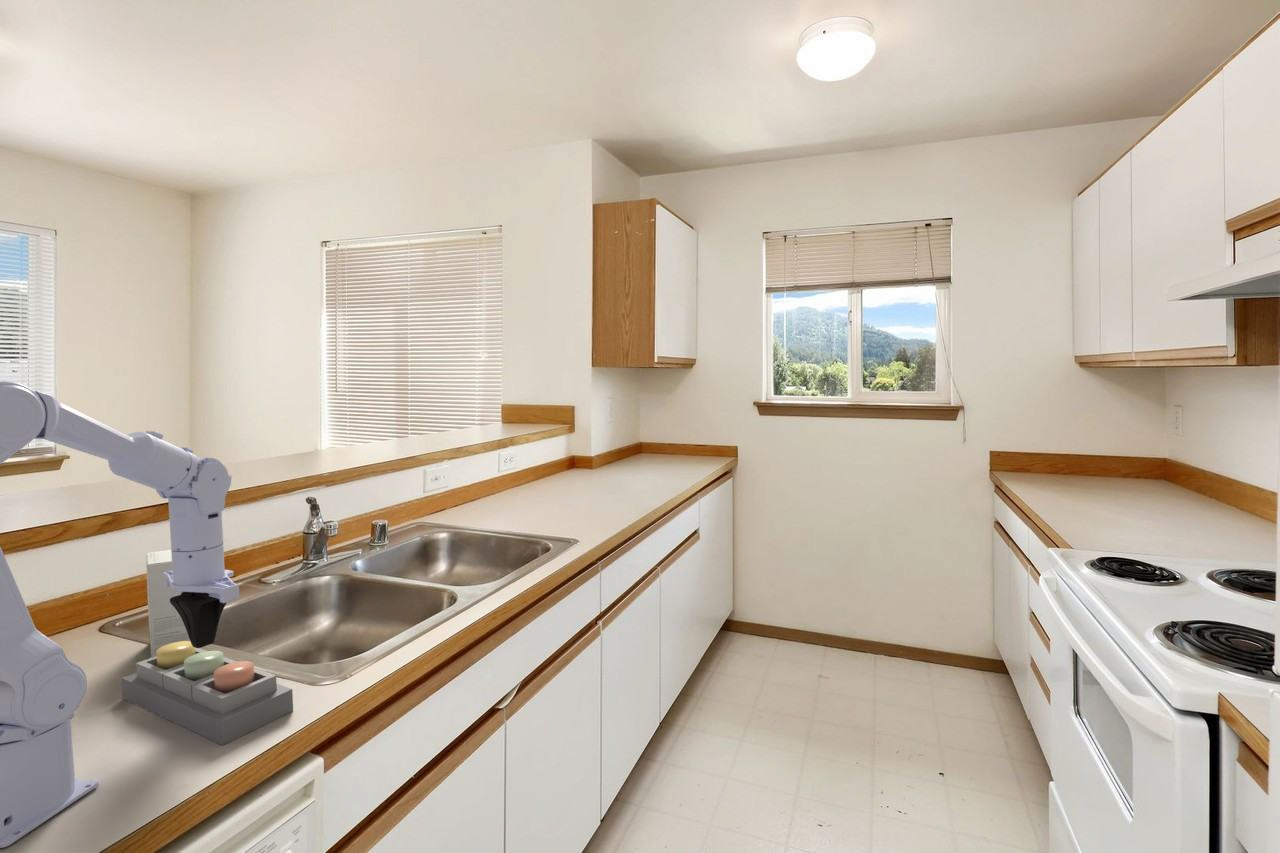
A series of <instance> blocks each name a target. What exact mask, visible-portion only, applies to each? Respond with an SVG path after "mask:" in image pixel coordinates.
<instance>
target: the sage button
mask: <svg viewBox="0 0 1280 853" xmlns="http://www.w3.org/2000/svg"><path fill="white" fill-rule="evenodd" d="M206 651H207V652H202V653H198V654H195V655H192V656H190V657H188V658H187V659H185V661H184V672H185V678H187V679H190V680H197V679H202V678H205V677H207V676H210V675H212V674H214V671H215V670H216V669H218V668H219V667H221V666H224V657H225V656H224V652H223V651H221V650H206Z"/></svg>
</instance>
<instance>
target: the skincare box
mask: <svg viewBox="0 0 1280 853" xmlns="http://www.w3.org/2000/svg"><path fill="white" fill-rule="evenodd" d="M168 571H172V553H171V549H167V550H166V549H165V550H158V551H151V552H147V553H146V587H147V588H146V592H147V610H148V611H147V612H148V614H147V615H148V630H149V631H148V632H149V633H148V634H149V648H150V649H149V650H150V658H153V657H155V656H157V655H156V651H157V650H158V649H159V648H161V647H162V646H165V645H168V644H171V643H175V642H181V641H190V639H189V636H188V633H187V630H186V628H185V625H184V623H183V621H182V619H181V617H180V615H179V613H178V612H177V610H176V609H175V608H174V607H173V606H172V604H171V603H170V598H172V597H175V596H178V595H181V593H183V592H180V591H174V590H173V589H172V588H171V587H165V586H164V585H163V573H164V572H168Z"/></svg>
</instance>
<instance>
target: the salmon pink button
mask: <svg viewBox="0 0 1280 853" xmlns="http://www.w3.org/2000/svg"><path fill="white" fill-rule="evenodd" d="M254 668H255V665H254V662H252V661H247V660H240V661H237V662H234V663H230V664H226V665H224V666H221V667H219V668H218V669H216V670H215V671H214V687H215V690H216V691H219V692H230V691H234V690H236V689H238V688H241V687H243V686H246V685H248V684H250V683H253V682H254V680H255V677H254Z"/></svg>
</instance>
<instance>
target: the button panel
mask: <svg viewBox="0 0 1280 853" xmlns="http://www.w3.org/2000/svg"><path fill="white" fill-rule="evenodd" d="M195 651H196V654H198V653H202V652H207V651H208V650H205V649H202V648H195ZM234 662H238V660H237V661H236V660H233V659H231V658H229V657H225V656H224V665H226V664H230V663H234ZM135 667H136V668H135V669H136V672H134V673H132V674H128V675H126V676H123V677H121V688H122V700H124V701H127V702H129V703H132V704H134V705H135V706H136V707H137V706H138V707H140V708H142V709H144V710H146V711H148V712H151V713H153V714H154V715H157V716H159V717H161V718H163V719H165V720H167V721H170V722H171V723H174V724H176V725H177V726H180V727H183V728H185V729H187V730H189V731H190V732H193V733H195V734H198V735H199V736H202V737H204V738H206V739H208V740H210V741H211V742H215V743H216V744H219V745H221V746H224V745H227V744H228V743H230V742H233V741H234V740H237V739H239V738H240V737H243V736H244V735H246V734H249V733H251V732H253V731H255V730H257V729H259V728H261V727H263V726H265V725H267V724H269V723H271V722H273V721H276V720H277V719H279V718H282V717H283V716H286V715H287V714H290V713H291V712H293V711H294V701H293V700H294V699H293V697H294V696H293V695H294V694H293V688H290V687H288V686H285V685H282V684H279V683H278V682H277V675H276V674H273V673H271V672H267V671H265V670H262V669H259V668H256V667H254V677H255V680H254V682H253V683H250V684H248V685H246V686H243V687H241V688H238V689H236V690H234V691H230V692H219V691H216V690H215V687H214V674H212V675H210V676H207V677H205V678H202V679H197V680H190V679H187V678H185V672H184V664H181V665H178V666H175V667H173V668H159V667H157V656H155V657H153V658H151V657H150V658H147V659H144V660H142V661H138V662H135ZM250 731H251V732H250ZM248 732H249V733H248Z"/></svg>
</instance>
